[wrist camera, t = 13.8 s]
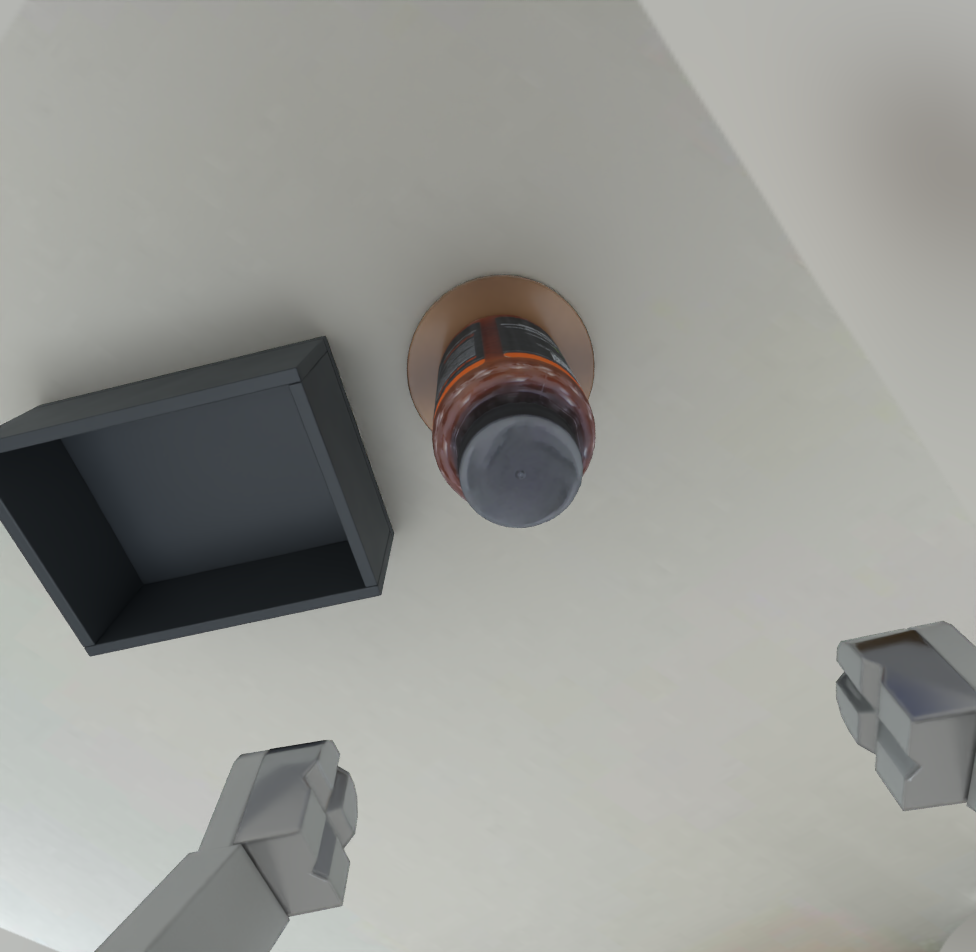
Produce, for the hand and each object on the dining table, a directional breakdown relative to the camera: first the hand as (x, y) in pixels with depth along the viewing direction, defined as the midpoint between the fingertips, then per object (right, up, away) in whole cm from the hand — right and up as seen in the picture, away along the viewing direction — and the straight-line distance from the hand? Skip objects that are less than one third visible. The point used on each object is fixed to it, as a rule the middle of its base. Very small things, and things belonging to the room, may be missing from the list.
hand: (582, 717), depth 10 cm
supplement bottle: (-1, +9, +20) cm, 22 cm away
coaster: (-1, +9, +20) cm, 22 cm away
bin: (-15, +4, +22) cm, 27 cm away
